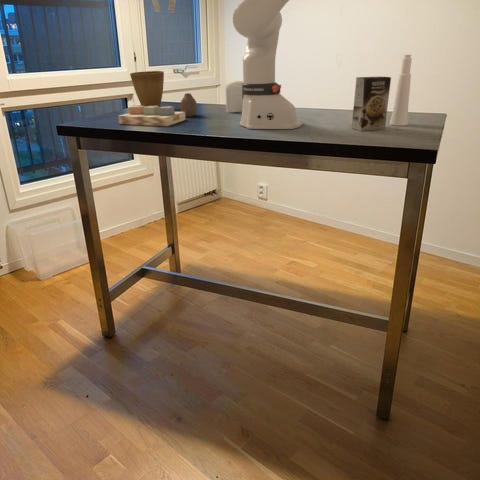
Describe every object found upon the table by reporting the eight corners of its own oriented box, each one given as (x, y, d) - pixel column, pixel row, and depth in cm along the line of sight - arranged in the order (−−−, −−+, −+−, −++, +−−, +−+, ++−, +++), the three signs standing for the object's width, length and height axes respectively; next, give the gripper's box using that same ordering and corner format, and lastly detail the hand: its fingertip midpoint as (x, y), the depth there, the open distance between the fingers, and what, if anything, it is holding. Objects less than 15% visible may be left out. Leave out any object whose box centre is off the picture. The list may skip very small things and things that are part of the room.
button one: (145, 113, 167) (144, 105, 166) (139, 115, 164) (138, 106, 162) (136, 113, 169) (135, 105, 167) (130, 115, 165) (128, 106, 164)
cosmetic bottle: (398, 126, 143) (407, 55, 133) (385, 123, 148) (393, 55, 138) (411, 124, 145) (421, 54, 136) (398, 122, 150) (407, 54, 141)
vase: (195, 117, 172) (193, 94, 168) (178, 117, 173) (176, 94, 170) (199, 114, 178) (198, 92, 174) (184, 114, 180) (182, 92, 176)
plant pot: (145, 106, 205) (141, 71, 198) (172, 107, 200) (169, 70, 193) (128, 111, 192) (123, 73, 185) (157, 112, 187) (153, 73, 181)
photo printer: (228, 113, 179) (226, 82, 173) (225, 112, 182) (223, 81, 177) (251, 111, 181) (250, 80, 176) (247, 110, 185) (247, 80, 180)
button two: (174, 114, 163) (173, 106, 161) (168, 116, 159) (168, 107, 158) (164, 114, 164) (163, 105, 163) (158, 116, 161) (157, 107, 159)
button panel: (185, 119, 167) (184, 111, 166) (167, 126, 156) (166, 117, 154) (140, 117, 175) (139, 110, 173) (119, 123, 163) (118, 115, 162)
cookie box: (361, 131, 137) (366, 78, 130) (351, 128, 143) (355, 76, 136) (385, 129, 139) (392, 76, 133) (374, 125, 145) (380, 75, 138)
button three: (160, 114, 165) (159, 105, 164) (154, 116, 161) (153, 107, 160) (150, 113, 167) (149, 105, 165) (144, 115, 163) (143, 107, 162)
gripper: (152, -39, 136) (156, 10, 142) (183, -31, 153) (185, 13, 159) (136, -38, 138) (140, 11, 144) (168, -30, 155) (171, 13, 161)
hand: (164, 12), depth 152 cm, fingers open, 8 cm apart
